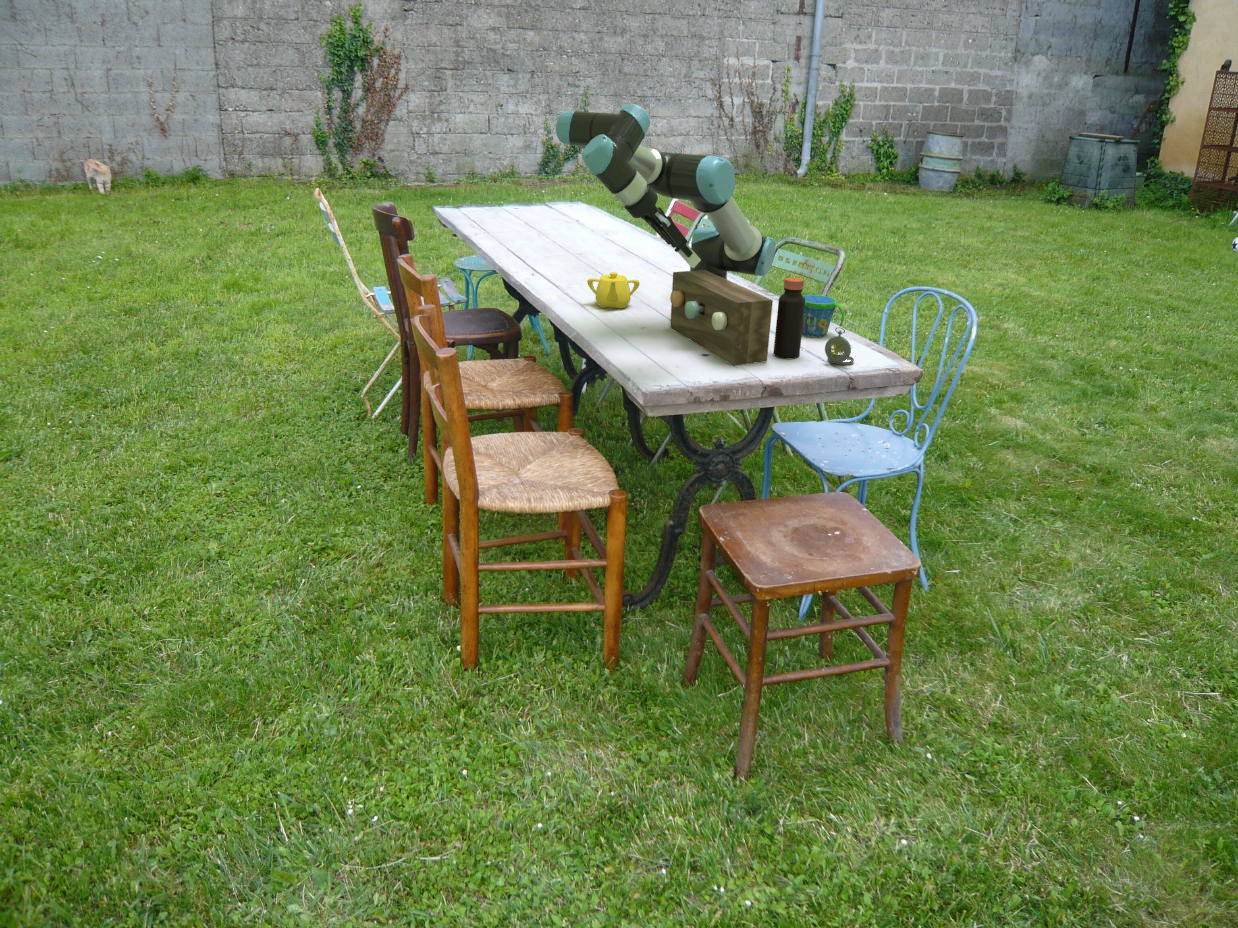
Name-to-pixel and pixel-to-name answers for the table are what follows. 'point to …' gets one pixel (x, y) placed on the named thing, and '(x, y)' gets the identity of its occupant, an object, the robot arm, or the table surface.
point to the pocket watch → (838, 349)
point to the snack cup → (819, 314)
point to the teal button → (693, 309)
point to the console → (742, 309)
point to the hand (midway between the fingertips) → (695, 263)
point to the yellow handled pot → (613, 290)
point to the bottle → (790, 319)
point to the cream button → (719, 320)
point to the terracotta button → (677, 298)
